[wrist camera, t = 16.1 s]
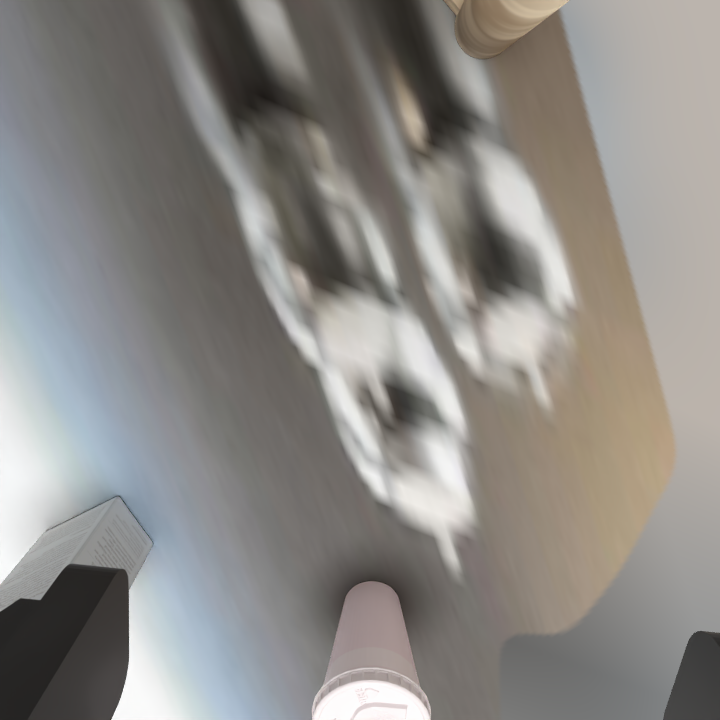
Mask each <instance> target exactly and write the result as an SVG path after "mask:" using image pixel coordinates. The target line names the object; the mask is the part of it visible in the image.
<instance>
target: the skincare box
mask: <svg viewBox="0 0 720 720" xmlns="http://www.w3.org/2000/svg"><path fill="white" fill-rule="evenodd" d="M152 546H153V543H152V541H151V539H150V538H149V537H148V535H147V534H146V533H145V531H144V530H143V529H142V527H141V526H140V524H139V523H138V522H137V520H136V519H135V518H134V516H133V515H132V514H131V512H130V511H129V509H128V508H127V507H126V505H125V504H124V502H123V501H122V500H121V498H120V497H115V498H113V499H111V500H109V501H107V502H105V503H103V504H101V505H99V506H97V507H95V508H93V509H91V510H89V511H87V512H85V513H82V514H81V515H79V516H77V517H75V518H73V519H70V520H68V521H66V522H65V523H63V524H61V525H58V526H56V527H54V528H52V529H50V530H48V531H46V532H44V533H43V534H42V536H41V537H40V538H39V539H38V540H37V542H36V543H35V544H34V545H33V546H32V547H31V549H30V550H29V551H28V552H27V553H26V555H25V556H24V557H23V558H22V559H21V561H20V562H19V563H18V564H17V565H16V567H15V568H14V569H13V570H12V571H11V573H10V574H9V575H8V576H7V578H6V579H5V580H4V581H3V582H2V584H1V585H0V611H2V610H3V609H5V608H6V607H8V606H9V605H11V604H12V603H14V602H15V601H17V600H18V599H20V598H25V599H35V600H41V598H42V597H43V596H44V594H45V593H46V592H47V590H48V589H49V588H50V586H51V585H52V583H53V582H54V581H55V579H56V578H57V577H58V575H59V574H60V573H61V571H62V570H63V569H64V568H65V567H66V566H67V565H69V564H82V565H91V566H101V567H110V568H120V569H125V570H126V572H127V575H128V583H129V589H130V587H131V585H132V583H133V582H134V580H135V578H136V576H137V574H138V572H139V570H140V569H141V567H142V565H143V563H144V561H145V559H146V557H147V555H148V554H149V552H150V550H151V548H152Z"/></svg>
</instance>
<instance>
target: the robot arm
mask: <svg viewBox="0 0 720 720" xmlns="http://www.w3.org/2000/svg"><path fill="white" fill-rule="evenodd" d="M128 662H129V583H128V575H127V572H126V570H125V569H120V568H110V567H101V566H91V565H82V564H69V565H67V566H66V567H65V568H64V569H63V570H62V571H61V573H60V574H59V575H58V577H57V578H56V579H55V581H54V582H53V583H52V585H51V586H50V588H49V589H48V590H47V592H46V593H45V594H44V596H43V597H42V598H41V600H35V599H25V598H20V599H18V600H17V601H15V602H14V603H12V604H11V605H9V606H8V607H6V608H5V609H3V610H2V611H0V720H111V719H112V717H113V714H114V712H115V710H116V708H117V705H118V703H119V700H120V698H121V695H122V691H123V688H124V684H125V680H126V675H127V670H128ZM663 720H720V633H715V632H705V631H698V632H696V633H694V634H693V635H692V636H691V638H690V639H689V641H688V644H687V647H686V650H685V653H684V656H683V659H682V662H681V665H680V668H679V671H678V674H677V677H676V680H675V683H674V686H673V689H672V692H671V695H670V698H669V701H668V704H667V707H666V710H665V713H664V719H663Z"/></svg>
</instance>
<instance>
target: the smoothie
mask: <svg viewBox="0 0 720 720" xmlns="http://www.w3.org/2000/svg"><path fill="white" fill-rule="evenodd" d="M312 717H313V718H312V720H431V707H430V705H429V702H428V699H427V696H426V695H425V693H424V692H423V691H422V689H421V688H420V685H419V680H418V676H417V673H416V668H415V664H414V660H413V656H412V652H411V647H410V643H409V639H408V635H407V631H406V626H405V622H404V618H403V614H402V610H401V605H400V601H399V598H398V595H397V594H396V592H395V591H394V590H393V589H392V588H391V587H390V586H388V585H386V584H384V583H381V582H376V581H367V582H363V583H360V584H357V585H356V586H354V587H353V588H352V589H351V590H350V591H349V592H348V593H347V595H346V598H345V601H344V605H343V609H342V613H341V617H340V621H339V625H338V629H337V633H336V637H335V641H334V645H333V649H332V653H331V657H330V661H329V665H328V669H327V673H326V677H325V681H324V685H323V686H322V687H321V689H320V690H319V692H318V693H317V695H316V697H315V699H314V703H313V707H312Z"/></svg>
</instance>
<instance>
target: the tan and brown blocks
mask: <svg viewBox="0 0 720 720" xmlns="http://www.w3.org/2000/svg"><path fill="white" fill-rule="evenodd" d="M444 1H445V3H446V4H447V5H448V6H449V7H450V9H451V10H452V11H453V12H454V13H455V15H456V19H455V36H456V39H457V42H458V44H459V46H460V47H461V49H462V50H463V51H464V52H465V53H467V54H468V55H470V56H471V57H474V58H477V59H489V58H492V57H495V56H497V55H499V54H500V53H501V52H503V51H504V50H505V49H507V48H508V47H509V46H511V45H512V44H513V43H515V42H516V41H517V40H518V39H520V38H521V37H522V36H524V35H525V34H526V33H528V32H529V31H530V30H532V29H533V28H534V27H536V26H537V25H538V24H539V23H541V22H542V21H543V20H545V19H546V18H547V17H549V16H550V15H551V14H553V13H554V12H555V11H556V10H558V9H559V8H560V7H562V6H563V5H564V4H565V3H567V2H568V1H569V0H444Z"/></svg>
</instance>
